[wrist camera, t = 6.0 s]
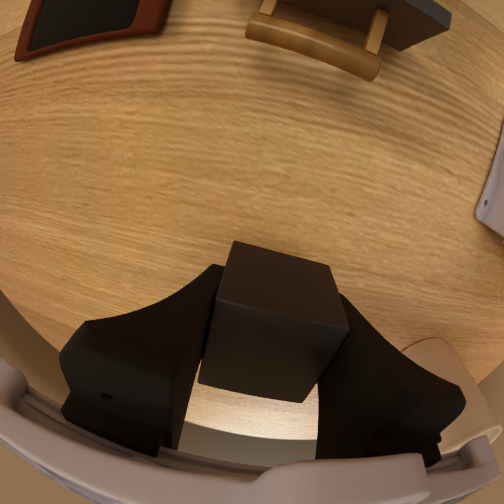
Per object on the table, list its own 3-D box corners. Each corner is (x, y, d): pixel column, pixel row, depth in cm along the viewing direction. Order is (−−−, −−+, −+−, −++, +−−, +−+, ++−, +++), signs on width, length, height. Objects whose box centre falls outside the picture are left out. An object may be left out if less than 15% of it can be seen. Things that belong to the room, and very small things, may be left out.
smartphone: (157, 30, 12) (11, 62, 12) (162, 34, 13) (18, 63, 13) (183, -49, 9) (31, -5, 9) (187, -42, 10) (38, -3, 9)
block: (297, 335, 14) (302, 404, 10) (215, 316, 14) (196, 383, 10) (329, 264, 12) (351, 329, 8) (233, 239, 12) (215, 298, 8)
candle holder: (470, 336, 22) (518, 419, 11) (421, 395, 26) (448, 475, 15) (409, 324, 21) (462, 437, 10) (357, 392, 25) (377, 492, 14)
